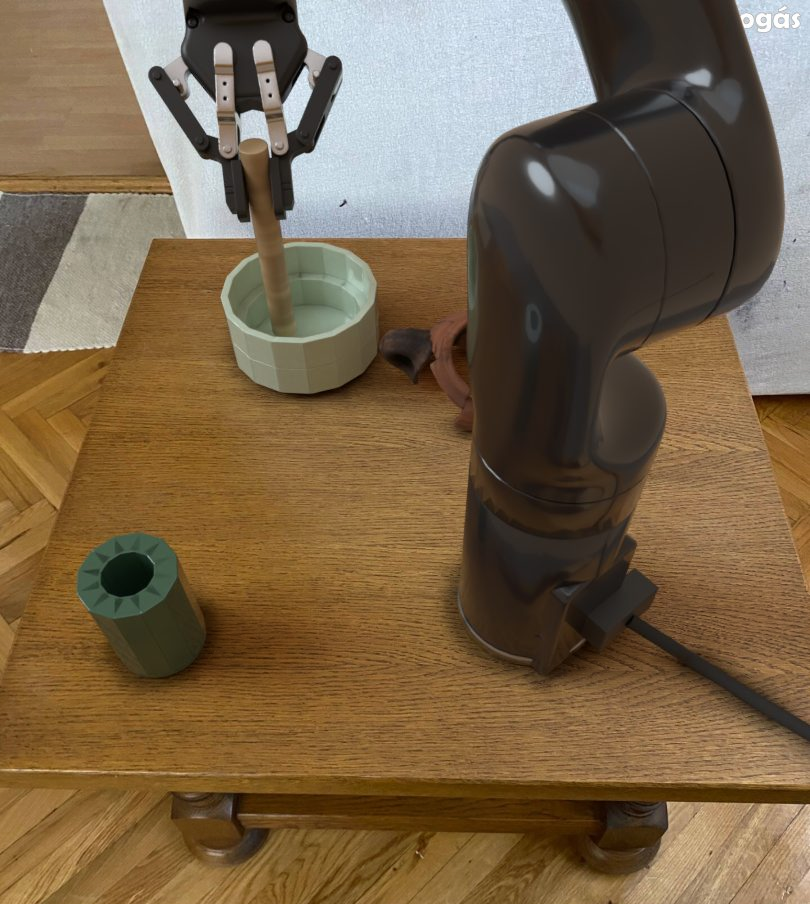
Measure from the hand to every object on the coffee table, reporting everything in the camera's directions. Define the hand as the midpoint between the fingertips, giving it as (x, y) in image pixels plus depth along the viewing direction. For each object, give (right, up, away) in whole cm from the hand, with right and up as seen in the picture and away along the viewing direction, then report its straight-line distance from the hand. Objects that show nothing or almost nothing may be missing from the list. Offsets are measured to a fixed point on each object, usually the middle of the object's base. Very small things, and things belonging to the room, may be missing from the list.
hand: (262, 218), depth 57 cm
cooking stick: (0, -5, +11) cm, 12 cm away
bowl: (+2, -6, +13) cm, 14 cm away
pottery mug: (+14, -10, +10) cm, 20 cm away
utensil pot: (-6, -29, -3) cm, 30 cm away
